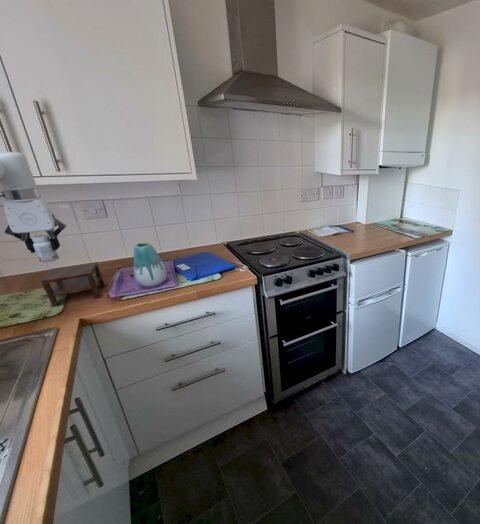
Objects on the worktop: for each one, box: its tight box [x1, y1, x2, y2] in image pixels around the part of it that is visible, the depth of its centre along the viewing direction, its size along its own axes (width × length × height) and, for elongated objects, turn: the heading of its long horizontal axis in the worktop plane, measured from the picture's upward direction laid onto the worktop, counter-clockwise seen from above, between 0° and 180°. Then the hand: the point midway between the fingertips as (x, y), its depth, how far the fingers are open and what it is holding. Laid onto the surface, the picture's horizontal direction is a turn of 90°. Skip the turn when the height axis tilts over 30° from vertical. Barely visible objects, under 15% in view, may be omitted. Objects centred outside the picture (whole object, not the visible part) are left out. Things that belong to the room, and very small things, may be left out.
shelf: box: [40, 261, 106, 307], centre depth 116 cm, size 14×12×11 cm
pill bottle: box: [31, 234, 60, 264], centre depth 99 cm, size 5×5×8 cm
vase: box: [133, 242, 168, 288], centre depth 124 cm, size 12×12×18 cm
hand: (45, 249), depth 99 cm, fingers closed on pill bottle, 4 cm apart
